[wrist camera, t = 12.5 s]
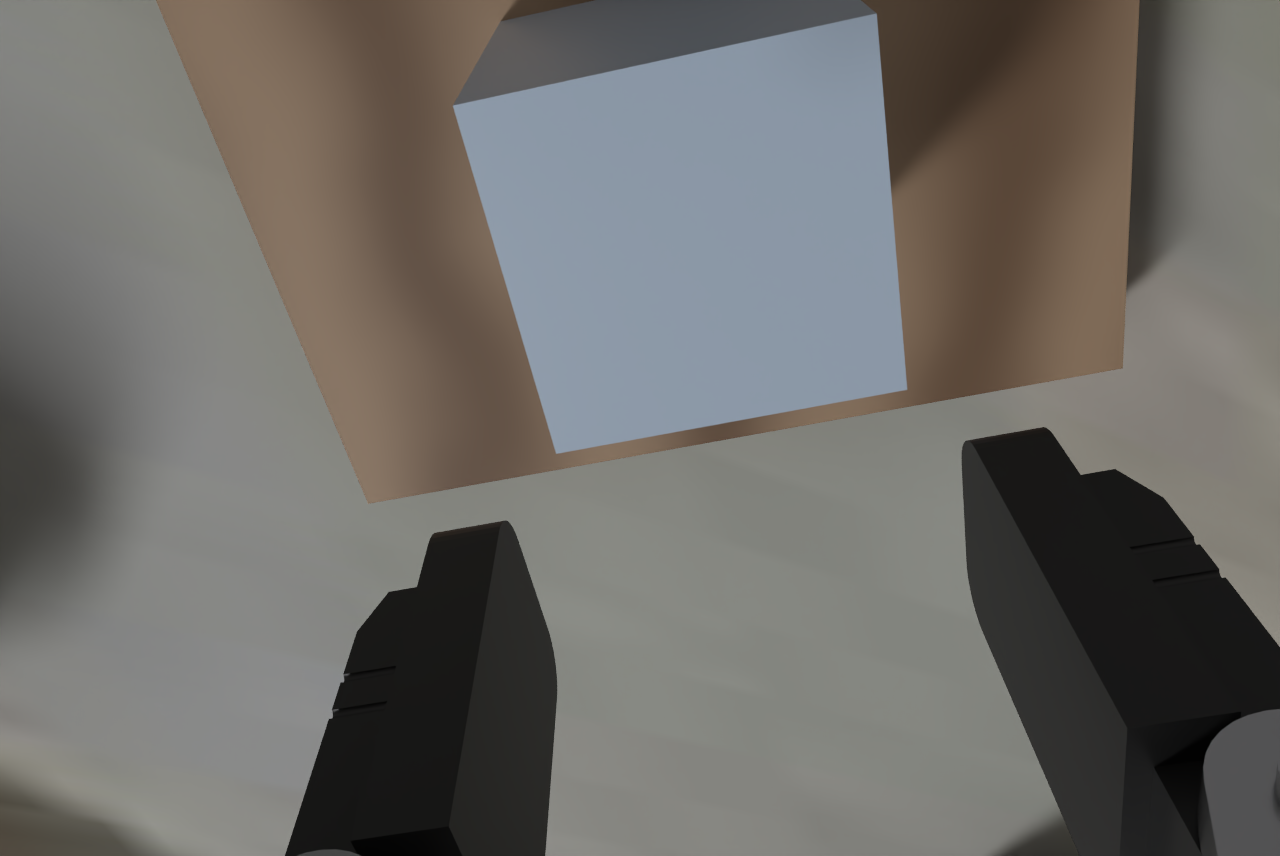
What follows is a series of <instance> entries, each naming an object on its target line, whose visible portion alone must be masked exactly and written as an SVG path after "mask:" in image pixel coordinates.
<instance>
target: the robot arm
mask: <svg viewBox="0 0 1280 856" xmlns="http://www.w3.org/2000/svg"><path fill="white" fill-rule="evenodd" d="M962 478H963V499H964V519H965V539H966V559H967V572H968V579H969V585H970V590H971V595H972V599H973V603H974V607H975V611H976V614H977V617H978V620H979V623H980V626H981V629H982V631H983V634H984V636H985V638H986V640H987V643H988V645H989V647H990V650H991V652H992V654H993V657H994V659H995V661H996V664H997V666H998V668H999V670H1000V673H1001V675H1002V677H1003V680H1004V682H1005V684H1006V687H1007V689H1008V691H1009V694H1010V696H1011V698H1012V700H1013V703H1014V705H1015V707H1016V710H1017V712H1018V714H1019V717H1020V719H1021V721H1022V724H1023V726H1024V728H1025V730H1026V733H1027V735H1028V737H1029V740H1030V742H1031V744H1032V747H1033V749H1034V751H1035V754H1036V756H1037V758H1038V760H1039V763H1040V765H1041V767H1042V770H1043V772H1044V774H1045V777H1046V779H1047V781H1048V784H1049V786H1050V788H1051V790H1052V793H1053V795H1054V797H1055V800H1056V802H1057V804H1058V807H1059V809H1060V811H1061V814H1062V816H1063V818H1064V820H1065V823H1066V825H1067V827H1068V830H1069V832H1070V834H1071V837H1072V839H1073V841H1074V844H1075V846H1076V848H1077V851H1078V853H1079V855H1080V856H1280V647H1279V646H1278V644H1277V643H1276V642H1275V640H1274V639H1273V638H1272V637H1271V635H1270V634H1269V633H1268V631H1267V630H1266V629H1265V628H1264V626H1263V625H1262V624H1261V622H1260V621H1259V620H1258V619H1257V617H1256V616H1255V615H1254V613H1253V612H1252V611H1251V610H1250V608H1249V607H1248V606H1247V604H1246V603H1245V602H1244V601H1243V599H1242V598H1241V597H1240V595H1239V594H1238V593H1237V592H1236V590H1235V589H1234V588H1233V586H1232V585H1231V584H1230V583H1229V581H1228V580H1227V579H1226V578H1221V576H1220V573H1219V568H1218V567H1217V566H1216V564H1215V563H1214V562H1213V561H1212V559H1211V558H1210V557H1209V555H1208V554H1207V553H1206V552H1205V550H1204V549H1203V548H1202V546H1201V545H1200V544H1199V545H1196V544H1195V542H1194V536H1193V535H1192V534H1191V532H1190V531H1189V530H1188V528H1187V527H1186V526H1185V525H1184V523H1183V522H1182V521H1181V519H1180V518H1179V517H1178V516H1177V514H1176V513H1175V512H1174V510H1173V509H1172V508H1171V507H1170V505H1169V504H1168V503H1167V501H1166V500H1165V499H1164V498H1163V497H1161V496H1160V495H1158V494H1156V493H1155V492H1153V491H1151V490H1150V489H1148V488H1146V487H1144V486H1143V485H1141V484H1139V483H1138V482H1136V481H1134V480H1133V479H1131V478H1129V477H1128V476H1126V475H1124V474H1122V473H1121V472H1119V471H1117V470H1116V469H1113V470H1107V471H1101V472H1096V473H1090V474H1084V475H1080V473H1079V472H1078V470H1077V469H1076V468H1075V466H1074V465H1073V463H1072V462H1071V460H1070V459H1069V457H1068V456H1067V454H1066V453H1065V451H1064V450H1063V448H1062V447H1061V445H1060V444H1059V443H1058V441H1057V440H1056V438H1055V437H1054V435H1053V434H1052V433H1051V431H1050V430H1048V429H1047V428H1045V427H1042V428H1036V429H1031V430H1025V431H1019V432H1014V433H1008V434H1002V435H997V436H991V437H985V438H979V439H974V440H968V441H965V442H964V444H963V448H962ZM343 675H344V682H343V683H340V686H339V690H338V693H337V696H336V699H335V702H334V705H333V708H332V711H333V719H329V721H328V724H327V727H326V730H325V733H324V736H323V739H322V742H321V745H320V749H319V752H318V755H317V758H316V761H315V764H314V767H313V770H312V773H311V777H310V780H309V783H308V786H307V789H306V792H305V795H304V798H303V801H302V805H301V808H300V811H299V814H298V817H297V820H296V823H295V826H294V829H293V832H292V836H291V839H290V842H289V845H288V848H287V851H286V854H285V856H545V850H546V837H547V823H548V810H549V797H550V783H551V770H552V757H553V743H554V730H555V716H556V703H557V675H556V665H555V658H554V652H553V647H552V642H551V638H550V634H549V631H548V628H547V625H546V622H545V619H544V616H543V613H542V610H541V607H540V604H539V601H538V598H537V595H536V592H535V589H534V586H533V583H532V580H531V577H530V574H529V571H528V568H527V565H526V562H525V559H524V556H523V553H522V550H521V547H520V545H519V542H518V539H517V536H516V533H515V531H514V529H513V527H512V526H511V524H510V523H509V522H508V521H501V522H495V523H489V524H483V525H478V526H472V527H466V528H461V529H455V530H449V531H444V532H438V533H434V534H433V535H432V537H431V538H430V541H429V544H428V547H427V551H426V555H425V559H424V563H423V566H422V570H421V574H420V578H419V582H418V585H417V587H415V588H409V589H403V590H398V591H392V592H389V593H388V594H387V595H386V596H385V598H384V599H383V600H382V601H381V603H380V604H379V605H378V606H377V608H376V609H375V610H374V611H373V613H372V614H371V615H370V616H369V618H368V619H367V620H366V621H365V623H364V624H363V625H362V626H361V628H360V629H359V630H358V631H357V634H356V637H355V640H354V643H353V646H352V649H351V652H350V655H349V658H348V662H347V665H346V668H345V671H344V674H343Z"/></svg>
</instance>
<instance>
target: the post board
mask: <svg viewBox="0 0 1280 856" xmlns="http://www.w3.org/2000/svg"><path fill="white" fill-rule="evenodd" d="M156 1H157V4H158V6H159V8H160V11H161V13H162V15H163V18H164V20H165V23H166V25H167V27H168V30H169V32H170V34H171V37H172V39H173V42H174V44H175V46H176V49H177V51H178V53H179V56H180V58H181V61H182V63H183V65H184V68H185V70H186V72H187V75H188V77H189V80H190V82H191V84H192V87H193V89H194V91H195V94H196V96H197V99H198V101H199V103H200V106H201V108H202V110H203V113H204V115H205V118H206V120H207V122H208V125H209V127H210V129H211V132H212V134H213V136H214V139H215V141H216V144H217V146H218V148H219V151H220V153H221V155H222V158H223V160H224V163H225V165H226V167H227V170H228V172H229V174H230V177H231V179H232V182H233V184H234V186H235V189H236V191H237V193H238V196H239V198H240V201H241V203H242V205H243V208H244V210H245V212H246V215H247V217H248V220H249V222H250V224H251V227H252V229H253V231H254V234H255V236H256V239H257V241H258V243H259V246H260V248H261V250H262V253H263V255H264V257H265V260H266V262H267V265H268V267H269V269H270V272H271V274H272V276H273V279H274V281H275V284H276V286H277V288H278V291H279V293H280V295H281V298H282V300H283V303H284V305H285V307H286V310H287V312H288V314H289V317H290V319H291V322H292V324H293V326H294V329H295V331H296V333H297V336H298V338H299V341H300V343H301V345H302V348H303V350H304V352H305V355H306V357H307V360H308V362H309V364H310V367H311V369H312V371H313V374H314V376H315V378H316V381H317V383H318V386H319V388H320V390H321V393H322V395H323V397H324V400H325V402H326V405H327V407H328V409H329V412H330V414H331V416H332V419H333V421H334V424H335V426H336V428H337V431H338V433H339V435H340V438H341V440H342V443H343V445H344V447H345V450H346V452H347V454H348V457H349V459H350V462H351V464H352V466H353V469H354V471H355V473H356V476H357V478H358V481H359V483H360V485H361V488H362V490H363V492H364V495H365V497H366V500H367V502H368V504H369V503H375V502H380V501H386V500H391V499H397V498H403V497H408V496H414V495H419V494H425V493H430V492H436V491H442V490H447V489H453V488H458V487H464V486H469V485H475V484H481V483H486V482H492V481H497V480H503V479H508V478H514V477H520V476H525V475H531V474H536V473H542V472H547V471H553V470H559V469H564V468H570V467H575V466H581V465H586V464H592V463H598V462H603V461H609V460H614V459H620V458H625V457H631V456H637V455H642V454H648V453H653V452H659V451H664V450H670V449H675V448H681V447H687V446H692V445H698V444H703V443H709V442H714V441H720V440H726V439H731V438H737V437H742V436H748V435H753V434H759V433H765V432H770V431H776V430H781V429H787V428H792V427H798V426H804V425H809V424H815V423H820V422H826V421H831V420H837V419H843V418H848V417H854V416H859V415H865V414H870V413H876V412H882V411H887V410H893V409H898V408H904V407H909V406H915V405H921V404H926V403H932V402H937V401H943V400H948V399H954V398H959V397H965V396H971V395H976V394H982V393H987V392H993V391H998V390H1004V389H1010V388H1015V387H1021V386H1026V385H1032V384H1037V383H1043V382H1049V381H1054V380H1060V379H1065V378H1071V377H1076V376H1082V375H1088V374H1093V373H1099V372H1104V371H1110V370H1115V369H1121V368H1123V349H1124V327H1125V306H1126V284H1127V262H1128V240H1129V219H1130V197H1131V175H1132V154H1133V132H1134V110H1135V89H1136V67H1137V45H1138V24H1139V2H1140V0H861V1H862V2H864V3H865V4H866V5H867V6H868V7H870V8H871V9H872V10H873V11H874V12H876V13H877V23H878V36H879V48H880V60H881V73H882V85H883V97H884V110H885V122H886V134H887V147H888V159H889V171H890V184H891V196H892V208H893V221H894V233H895V245H896V257H897V270H898V282H899V294H900V307H901V319H902V331H903V344H904V356H905V368H906V381H907V390H903V391H898V392H892V393H887V394H881V395H876V396H870V397H865V398H859V399H854V400H848V401H843V402H837V403H832V404H826V405H821V406H816V407H810V408H805V409H799V410H794V411H788V412H783V413H777V414H772V415H766V416H761V417H755V418H750V419H744V420H739V421H733V422H728V423H722V424H717V425H712V426H706V427H701V428H695V429H690V430H684V431H679V432H673V433H668V434H662V435H657V436H651V437H646V438H640V439H635V440H629V441H624V442H618V443H613V444H608V445H602V446H597V447H591V448H586V449H580V450H575V451H569V452H564V453H558V454H556V451H555V448H554V445H553V441H552V438H551V435H550V431H549V428H548V424H547V421H546V418H545V414H544V411H543V408H542V404H541V401H540V398H539V394H538V391H537V387H536V384H535V381H534V377H533V374H532V371H531V367H530V364H529V361H528V357H527V354H526V350H525V347H524V344H523V340H522V337H521V334H520V330H519V327H518V323H517V320H516V317H515V313H514V310H513V307H512V303H511V300H510V297H509V293H508V290H507V286H506V283H505V280H504V276H503V273H502V270H501V266H500V263H499V260H498V256H497V253H496V249H495V246H494V243H493V239H492V236H491V233H490V229H489V226H488V223H487V219H486V216H485V212H484V209H483V206H482V202H481V199H480V196H479V192H478V189H477V185H476V182H475V179H474V175H473V172H472V169H471V165H470V162H469V159H468V155H467V152H466V148H465V145H464V142H463V138H462V135H461V132H460V128H459V125H458V122H457V118H456V115H455V111H454V108H453V104H454V103H455V101H456V99H457V97H458V96H459V94H460V92H461V90H462V88H463V87H464V85H465V83H466V81H467V80H468V78H469V76H470V74H471V73H472V71H473V69H474V67H475V65H476V64H477V62H478V60H479V58H480V57H481V55H482V53H483V51H484V50H485V48H486V46H487V44H488V42H489V41H490V39H491V37H492V35H493V34H494V32H495V30H496V28H497V26H498V25H499V23H500V21H505V20H509V19H514V18H518V17H522V16H527V15H531V14H536V13H540V12H545V11H549V10H554V9H558V8H562V7H567V6H571V5H576V4H580V3H585V2H589V1H594V0H156Z"/></svg>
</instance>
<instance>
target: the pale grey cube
mask: <svg viewBox="0 0 1280 856" xmlns="http://www.w3.org/2000/svg"><path fill="white" fill-rule="evenodd" d="M453 108H454V111H455V115H456V118H457V122H458V125H459V128H460V132H461V135H462V138H463V142H464V145H465V148H466V152H467V155H468V159H469V162H470V165H471V169H472V172H473V175H474V179H475V182H476V185H477V189H478V192H479V196H480V199H481V202H482V206H483V209H484V212H485V216H486V219H487V223H488V226H489V229H490V233H491V236H492V239H493V243H494V246H495V249H496V253H497V256H498V260H499V263H500V266H501V270H502V273H503V276H504V280H505V283H506V286H507V290H508V293H509V297H510V300H511V303H512V307H513V310H514V313H515V317H516V320H517V323H518V327H519V330H520V334H521V337H522V340H523V344H524V347H525V350H526V354H527V357H528V361H529V364H530V367H531V371H532V374H533V377H534V381H535V384H536V387H537V391H538V394H539V398H540V401H541V404H542V408H543V411H544V414H545V418H546V421H547V424H548V428H549V431H550V435H551V438H552V441H553V445H554V448H555V451H556V454H558V453H564V452H569V451H575V450H580V449H586V448H591V447H597V446H602V445H608V444H613V443H618V442H624V441H629V440H635V439H640V438H646V437H651V436H657V435H662V434H668V433H673V432H679V431H684V430H690V429H695V428H701V427H706V426H712V425H717V424H722V423H728V422H733V421H739V420H744V419H750V418H755V417H761V416H766V415H772V414H777V413H783V412H788V411H794V410H799V409H805V408H810V407H816V406H821V405H826V404H832V403H837V402H843V401H848V400H854V399H859V398H865V397H870V396H876V395H881V394H887V393H892V392H898V391H903V390H907V381H906V368H905V356H904V344H903V331H902V319H901V307H900V294H899V282H898V270H897V257H896V245H895V233H894V221H893V208H892V196H891V184H890V171H889V159H888V147H887V134H886V122H885V110H884V97H883V85H882V73H881V60H880V48H879V36H878V23H877V13H876V12H874V11H873V10H872V9H871V8H870V7H868V6H867V5H866V4H865V3H864V2H862V1H861V0H594V1H589V2H585V3H580V4H576V5H571V6H567V7H562V8H558V9H554V10H549V11H545V12H540V13H536V14H531V15H527V16H522V17H518V18H514V19H509V20H505V21H500V23H499V25H498V26H497V28H496V30H495V32H494V34H493V35H492V37H491V39H490V41H489V42H488V44H487V46H486V48H485V50H484V51H483V53H482V55H481V57H480V58H479V60H478V62H477V64H476V65H475V67H474V69H473V71H472V73H471V74H470V76H469V78H468V80H467V81H466V83H465V85H464V87H463V88H462V90H461V92H460V94H459V96H458V97H457V99H456V101H455V103H454V104H453Z"/></svg>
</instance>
